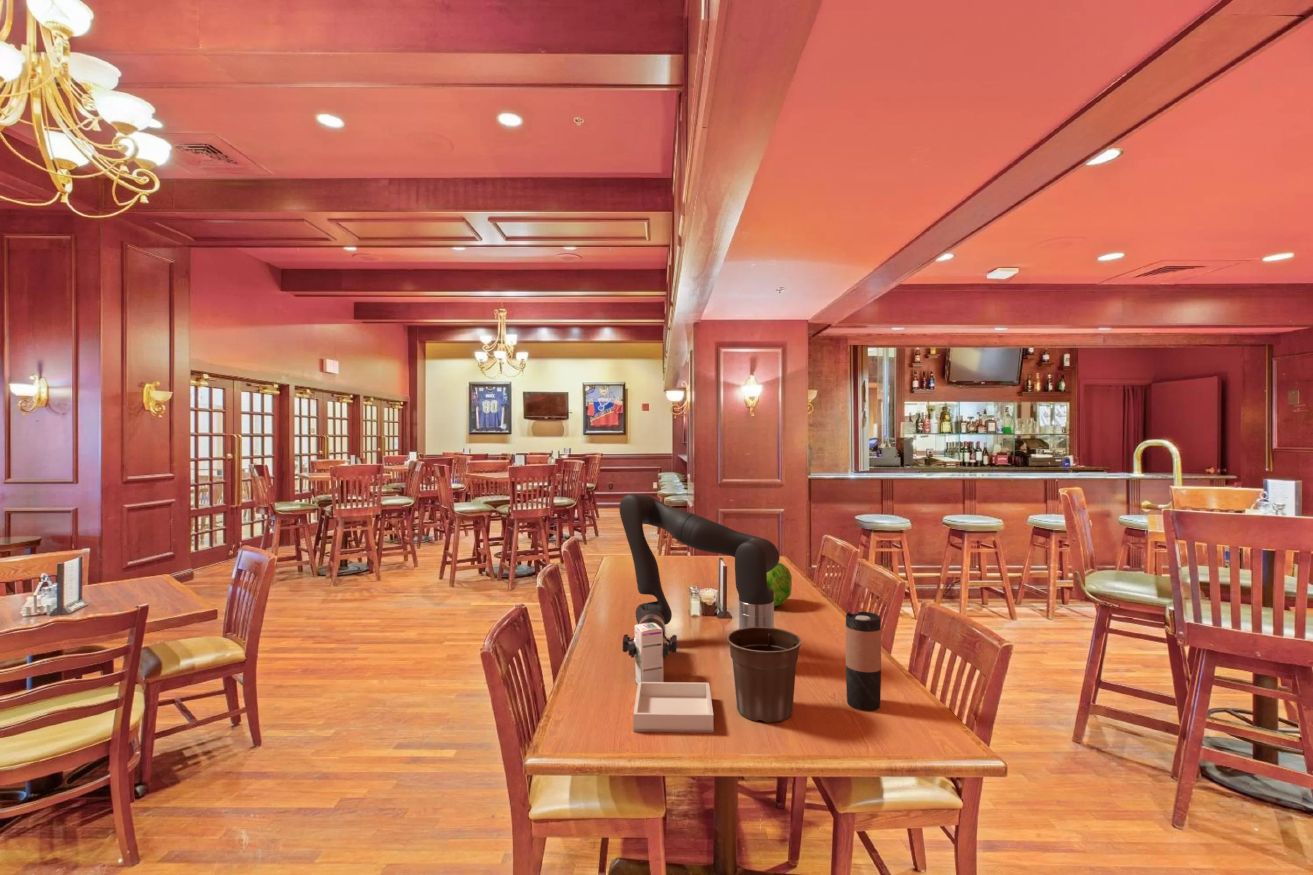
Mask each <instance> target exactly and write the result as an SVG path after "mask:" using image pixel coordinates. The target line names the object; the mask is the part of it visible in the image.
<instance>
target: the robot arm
mask: <svg viewBox="0 0 1313 875" xmlns="http://www.w3.org/2000/svg"><path fill="white" fill-rule="evenodd" d="M619 516H620V519H621V523H622V526H623V529H624V533H625V537H626V539H627V542H628V546H629V549H630V552H631V557H632V560H633V561H632V562H633V565H634V571H635V573H634V574H635V580H636V586H637V591H638V593H639V594H640V595H645V596H646V595H647V596H653V597H655V598H656V600H655V601H651V602H644V603H641V604H639V605H638V606H637V607H636V609H635V618H636V622H637V625H638V624H642V623H656V624H657V625H658V626H659V627H661V628H662V629H663V659H667V657H668V656H669V655H670V652H671V653H677V650H678V649H677V648H678V647H677V646H678V644H677V643H678V639H677V638H678V636H677V635H676V634H672V635H671V636H670V637H667V636H666V625H668V624H669V623H670V622H671V621H672V618H673V615H672V609H671V607H670V604H669V603H668V600H667V598H666V595H665V594H664V591H663V587H662V582H661V576H660V571H659V565H658V562H657V559H656V557H655V555H654V553H653V551H652V549H651V548H650V545H649V543H648V542H647V540H646V536H645V532H644V527H643V526H644V525H649V526H653V527H656V528H659V529H662V530H664V531H666V532H667V533H668V534H670V535H671V536H672V537H673V538H674V539H675V540H676V541H678V542H679V543H681V544H683V545H684V546H685V545H686V547H690V548H692V549H694V550H698V551H702V552H706V553H712V554H713V553H714V554H721V555H725V556H730V557H733V558H734V577H735V579H734V580H735V587H736V588H735V589H736V591H737V593H738V629H742V628H748V627H772V628H775V614H774V613H775V611H774V610H775V607H774V592H773V590H772V589H771V588H768V586H767V572H769V571H771V570H772V569H774V568H775V567H776V566H777V564H778V563H780V552H779V549H778V548H777V547H776V545H775V544H774V543H773V542H772V541H770V540H769V539H766V538H763V537H759V536H756V535H751V534H747V533H745V532H740V531H737V530H734V529H732V528H730V527H728V526H725V525H723V524H720V523H718V522H716V521H713V520H710V519H708V518H706V517H703V516H701V515H698V514H696V513H692V512H689V511H686V510H683V509H679V508H676V507H672V506H670V505H668V504H666V503H665V502H662V501H660V500H659V499H656V498H654V497H653V496H651V495H648V494H638V493H630V494H626V495H625V496H623V498H622V499H621V500H620V502H619ZM622 652H623V653H627V652H628V656H630V658H634V659H635V635H634V636H633V637H631V636H629V634H626V633H625V634H623V637H622Z"/></svg>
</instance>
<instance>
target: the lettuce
mask: <svg viewBox="0 0 1313 875" xmlns="http://www.w3.org/2000/svg"><path fill="white" fill-rule="evenodd" d="M792 578H793V577H792V574H791V571H790V569H789V568H788V567H787V566H786V565H784V564H783V563H781V562H778V564H777V566H776V567H775V568H774V569H772V570H771V571H769V572H767V586H768V588H771V589H772V590H773V592H774V608H775V607H778V606H780V605H783V604H784V603H785V602H786V601H787V600H788V599H789V598H790V596H791V595H792V585H793V584H792V583H793V582H792Z"/></svg>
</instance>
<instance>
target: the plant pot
mask: <svg viewBox="0 0 1313 875" xmlns="http://www.w3.org/2000/svg"><path fill="white" fill-rule="evenodd" d="M726 641H727V643H728V645H729V652H730V658H731V660H732V661H731V662H732V670H733V679H734V689H735V699H736V700H735V702H736V710H737V711H738V713H739V714H740V715H741V716H743V717H744V718H746V719H748V720H751V721H753V722H758V721H759V720H760V721H762V722H764V723H767V724H768V723H770V724H771V723H780V722H782V721H783V722H784V721H785V720H788V719H789V718H790V717H792V716H793V715H792V714H793V710H794V698H795V684H796V671H797V663H798V660H799V653H800V647H801V646H802V638H801V637H800V636H799V635H798V634H796V633H794V632H792V631H790V630H785V629H782V628H777V627H774V628H772V627H748V628H742V629H739V628H737V629H735V630H732V631H730V632H729V633H728V634H727V636H726Z"/></svg>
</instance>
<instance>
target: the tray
mask: <svg viewBox="0 0 1313 875" xmlns="http://www.w3.org/2000/svg"><path fill="white" fill-rule="evenodd" d="M635 694H636V695H635V701H634V708H633V713H632V714H633V715H632V716H633V720H632V721H633V733H688V734H689V733H691V734H692V733H697V734H698V733H699V734H700V733H701V734H703V733H704V734H705V733H707V734H708V733H709V734H711V733H712V734H713V733H714V711H713V710H714V709H713V703H712V694H711V688H710V682H690V681H689V682H685V681H684V682H682V681H681V682H680V681H679V682H678V681H677V682H675V681H674V682H672V681H671V682H669V681H668V682H667V681H663V682H638V685H637V688H636V693H635Z"/></svg>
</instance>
